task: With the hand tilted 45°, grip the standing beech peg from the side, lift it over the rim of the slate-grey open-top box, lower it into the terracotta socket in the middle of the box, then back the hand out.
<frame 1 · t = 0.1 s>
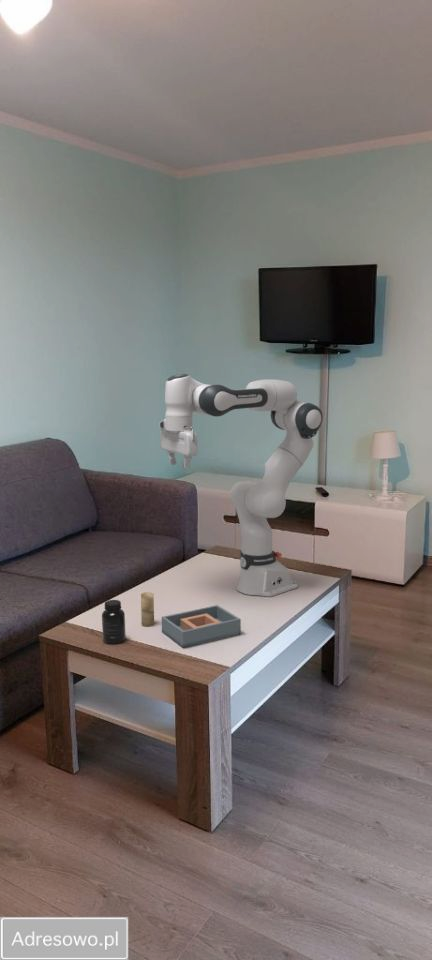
hand: (179, 466, 239), 48 cm above the table, tool pointing down, fingers open, 8 cm apart
beech peg: (147, 624, 231), on the table
open-top box: (201, 633, 223), on the table
supplement bottle: (114, 640, 219), on the table
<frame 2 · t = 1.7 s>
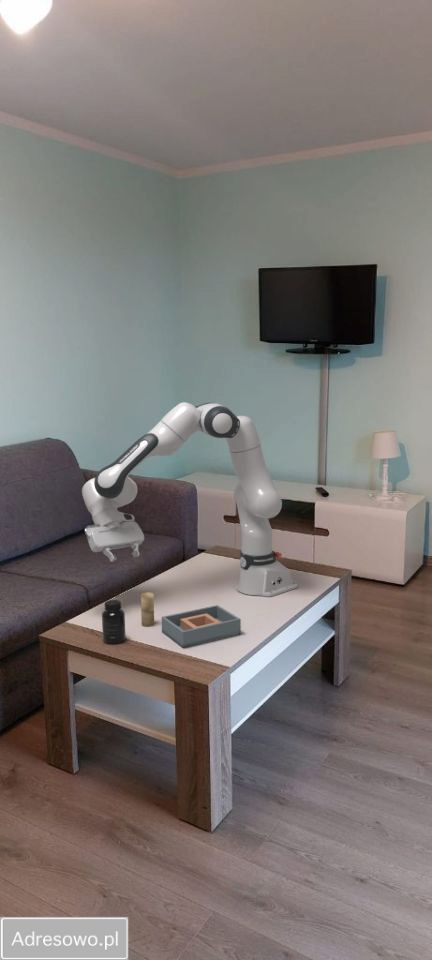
hand: (125, 558, 236), 19 cm above the table, tool tilted 45°, fingers open, 8 cm apart
nothing on the table moved.
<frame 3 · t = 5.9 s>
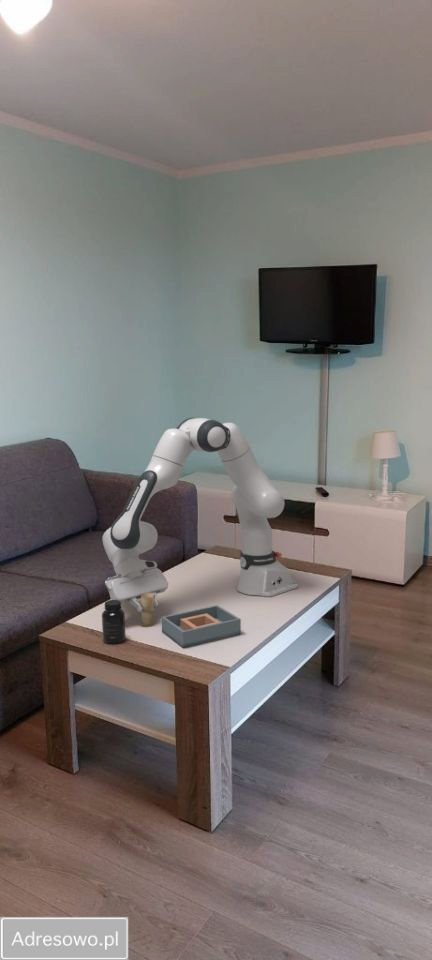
hand: (148, 608, 229), 5 cm above the table, tool tilted 45°, fingers closed on beech peg, 4 cm apart
beech peg: (147, 624, 231), on the table, touching gripper
everything else where it was.
when the fingers open (8 cm above the table, at t = 11.6 s): beech peg drops 1 cm, resting on open-top box.
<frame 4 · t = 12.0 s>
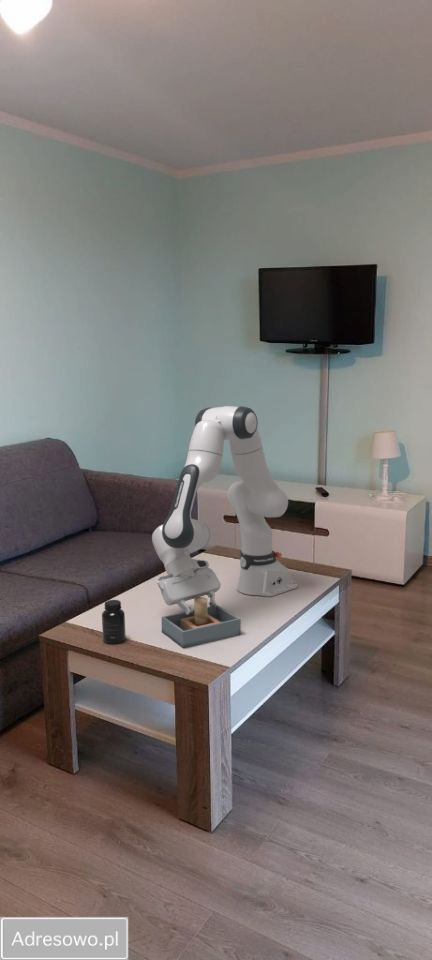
hand: (202, 609, 221), 8 cm above the table, tool tilted 45°, fingers open, 8 cm apart
beech peg: (201, 630, 223), point 1 cm above the table, touching open-top box
everything else where it was.
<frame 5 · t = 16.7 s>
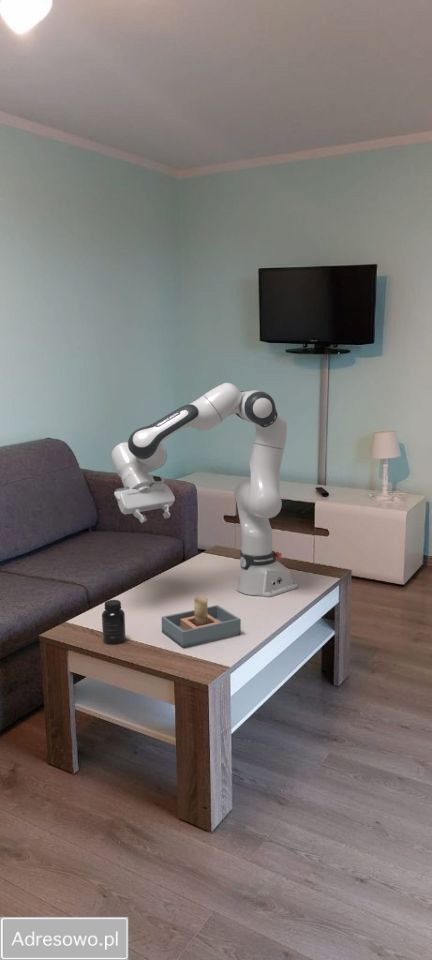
hand: (156, 519, 237), 31 cm above the table, tool tilted 45°, fingers open, 8 cm apart
nothing on the table moved.
at the end: beech peg 0.0 cm off-centre on the open-top box, point 1.0 cm above the open-top box's base; beech peg tilted 0°; the gripper is holding nothing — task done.
